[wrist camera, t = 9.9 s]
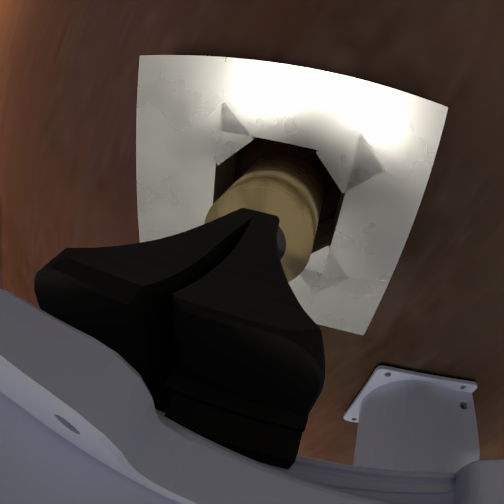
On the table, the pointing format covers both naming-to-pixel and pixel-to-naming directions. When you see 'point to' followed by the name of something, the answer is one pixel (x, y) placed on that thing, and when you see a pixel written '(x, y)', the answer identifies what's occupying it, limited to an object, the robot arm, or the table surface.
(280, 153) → the bushing
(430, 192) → the table surface
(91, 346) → the robot arm
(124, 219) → the table surface
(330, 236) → the jig
